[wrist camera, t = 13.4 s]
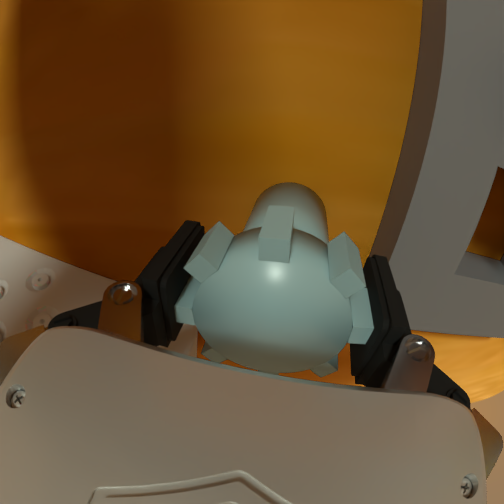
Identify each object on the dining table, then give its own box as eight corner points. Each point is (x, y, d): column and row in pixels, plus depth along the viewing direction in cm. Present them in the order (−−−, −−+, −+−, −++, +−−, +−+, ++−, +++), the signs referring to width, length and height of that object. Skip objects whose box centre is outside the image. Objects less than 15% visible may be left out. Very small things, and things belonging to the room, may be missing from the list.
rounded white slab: (210, 285, 20) (97, 552, 5) (205, 349, 24) (133, 544, 9) (-17, 211, 21) (-118, 308, 6) (-1, 264, 26) (-82, 359, 11)
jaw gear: (227, 155, 14) (155, 229, 8) (357, 164, 13) (400, 250, 7) (232, 261, 18) (189, 367, 11) (340, 271, 17) (347, 387, 10)
